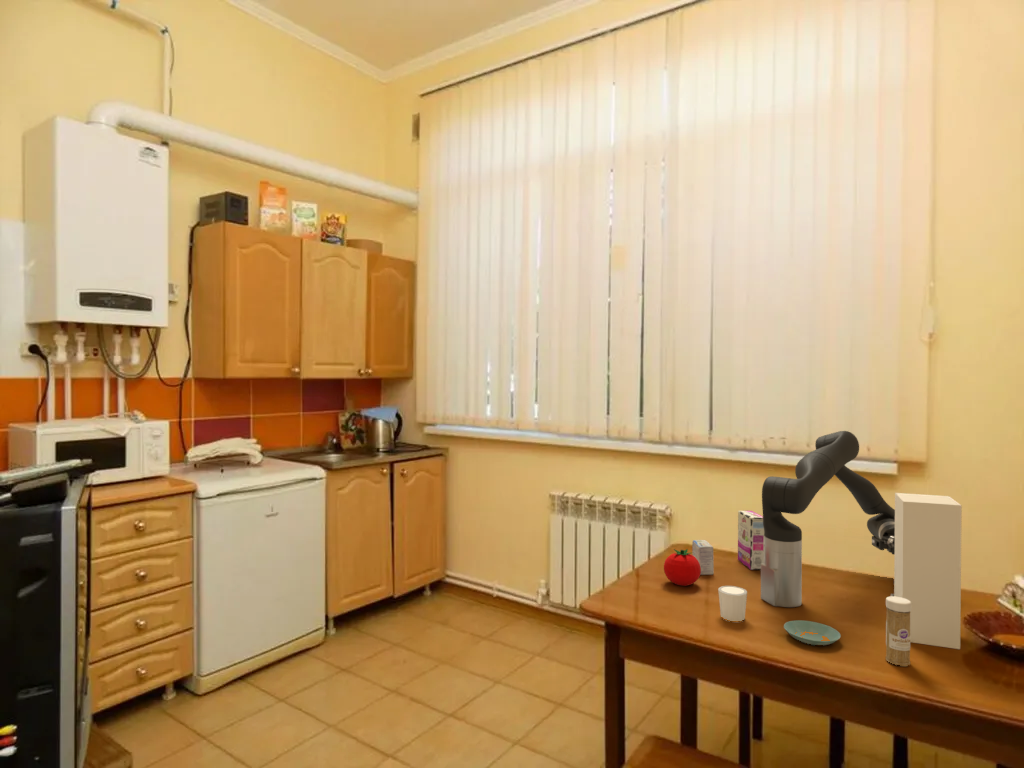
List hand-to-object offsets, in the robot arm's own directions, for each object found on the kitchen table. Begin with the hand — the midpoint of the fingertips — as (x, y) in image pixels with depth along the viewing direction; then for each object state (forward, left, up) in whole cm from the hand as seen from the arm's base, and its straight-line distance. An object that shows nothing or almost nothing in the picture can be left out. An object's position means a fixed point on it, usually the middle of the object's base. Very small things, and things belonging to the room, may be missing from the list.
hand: (904, 551), depth 168 cm
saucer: (-42, -18, -13) cm, 47 cm away
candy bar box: (-24, +34, -13) cm, 44 cm away
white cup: (-53, -3, -13) cm, 55 cm away
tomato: (-54, +22, -13) cm, 60 cm away
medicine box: (-42, +32, -13) cm, 55 cm away
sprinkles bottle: (-32, -32, -13) cm, 47 cm away
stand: (-15, -22, -12) cm, 29 cm away
